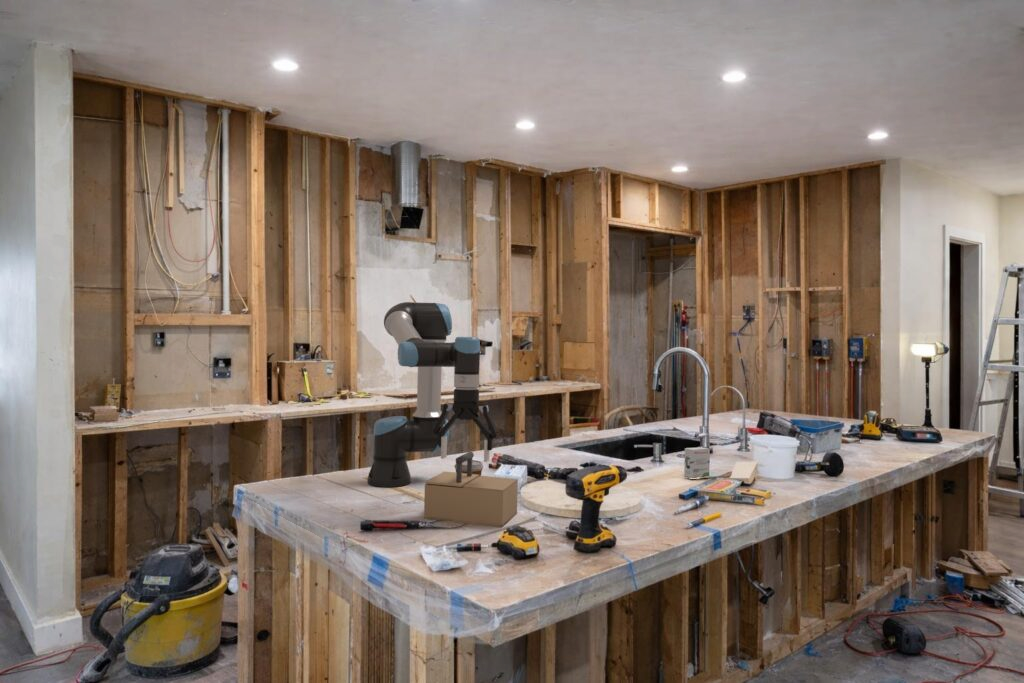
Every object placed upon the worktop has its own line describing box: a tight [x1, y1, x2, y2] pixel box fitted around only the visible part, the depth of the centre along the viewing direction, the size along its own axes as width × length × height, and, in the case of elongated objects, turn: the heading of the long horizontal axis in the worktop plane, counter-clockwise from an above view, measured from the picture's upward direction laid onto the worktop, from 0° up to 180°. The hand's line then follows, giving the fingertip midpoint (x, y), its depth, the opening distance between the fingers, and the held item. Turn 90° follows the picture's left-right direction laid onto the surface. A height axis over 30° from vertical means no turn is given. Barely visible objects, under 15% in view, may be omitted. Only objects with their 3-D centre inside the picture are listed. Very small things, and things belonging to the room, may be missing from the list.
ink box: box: [683, 446, 711, 479], centre depth 264 cm, size 9×5×12 cm, turn 112°
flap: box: [424, 451, 479, 487], centre depth 205 cm, size 15×12×8 cm
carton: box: [423, 475, 519, 528], centre depth 204 cm, size 15×24×11 cm, turn 74°
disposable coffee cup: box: [454, 459, 484, 476], centre depth 224 cm, size 10×10×12 cm
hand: (465, 459), depth 204 cm, fingers open, 13 cm apart
